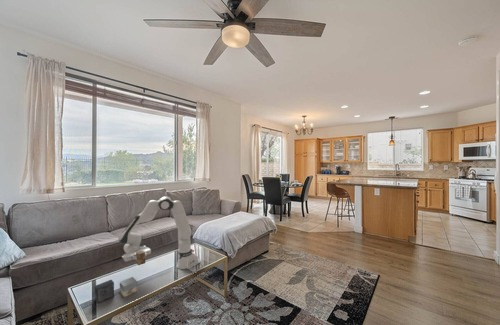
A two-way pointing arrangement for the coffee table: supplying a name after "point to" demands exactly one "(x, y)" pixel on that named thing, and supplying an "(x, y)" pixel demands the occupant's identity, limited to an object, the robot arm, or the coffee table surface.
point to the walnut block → (140, 257)
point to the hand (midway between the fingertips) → (141, 257)
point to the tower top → (128, 284)
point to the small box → (104, 291)
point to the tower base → (128, 291)
